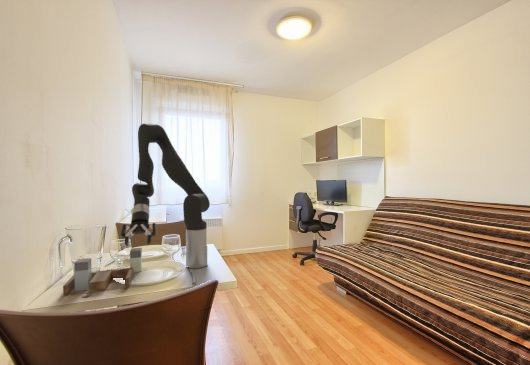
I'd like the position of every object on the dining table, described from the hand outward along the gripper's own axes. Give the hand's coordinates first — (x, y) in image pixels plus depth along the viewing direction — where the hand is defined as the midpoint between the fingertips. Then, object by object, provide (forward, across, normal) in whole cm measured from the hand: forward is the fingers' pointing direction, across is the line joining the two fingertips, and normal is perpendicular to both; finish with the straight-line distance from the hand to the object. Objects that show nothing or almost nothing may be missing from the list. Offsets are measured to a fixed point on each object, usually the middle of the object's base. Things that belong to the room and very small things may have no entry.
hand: (137, 244), depth 113 cm
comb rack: (+20, -10, -6) cm, 23 cm away
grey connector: (+20, -15, -6) cm, 26 cm away
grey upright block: (+12, 0, +3) cm, 12 cm away
